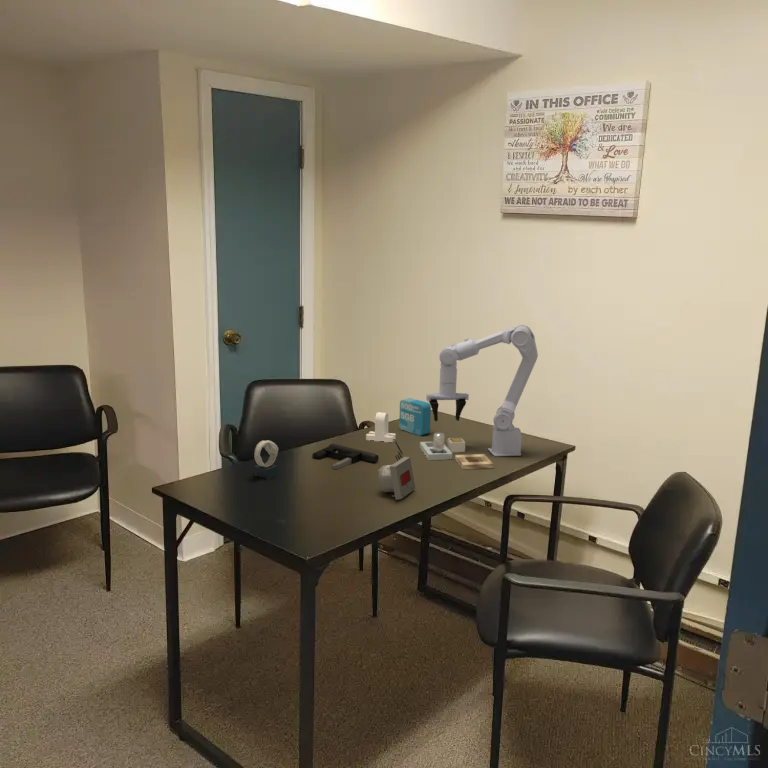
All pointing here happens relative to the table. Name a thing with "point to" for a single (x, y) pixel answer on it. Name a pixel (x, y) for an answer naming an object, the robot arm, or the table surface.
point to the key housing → (456, 446)
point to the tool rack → (428, 451)
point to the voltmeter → (397, 477)
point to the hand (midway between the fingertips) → (446, 420)
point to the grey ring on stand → (267, 468)
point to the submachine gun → (344, 455)
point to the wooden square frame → (482, 463)
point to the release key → (456, 440)
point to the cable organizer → (381, 429)
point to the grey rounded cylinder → (438, 443)
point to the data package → (415, 416)
